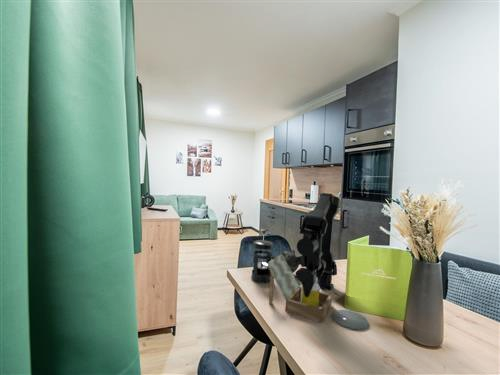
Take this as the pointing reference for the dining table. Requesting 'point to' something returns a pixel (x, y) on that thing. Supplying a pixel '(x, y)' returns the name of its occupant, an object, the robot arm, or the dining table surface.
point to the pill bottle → (311, 295)
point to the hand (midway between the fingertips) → (310, 292)
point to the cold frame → (295, 292)
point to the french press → (261, 269)
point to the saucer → (350, 319)
